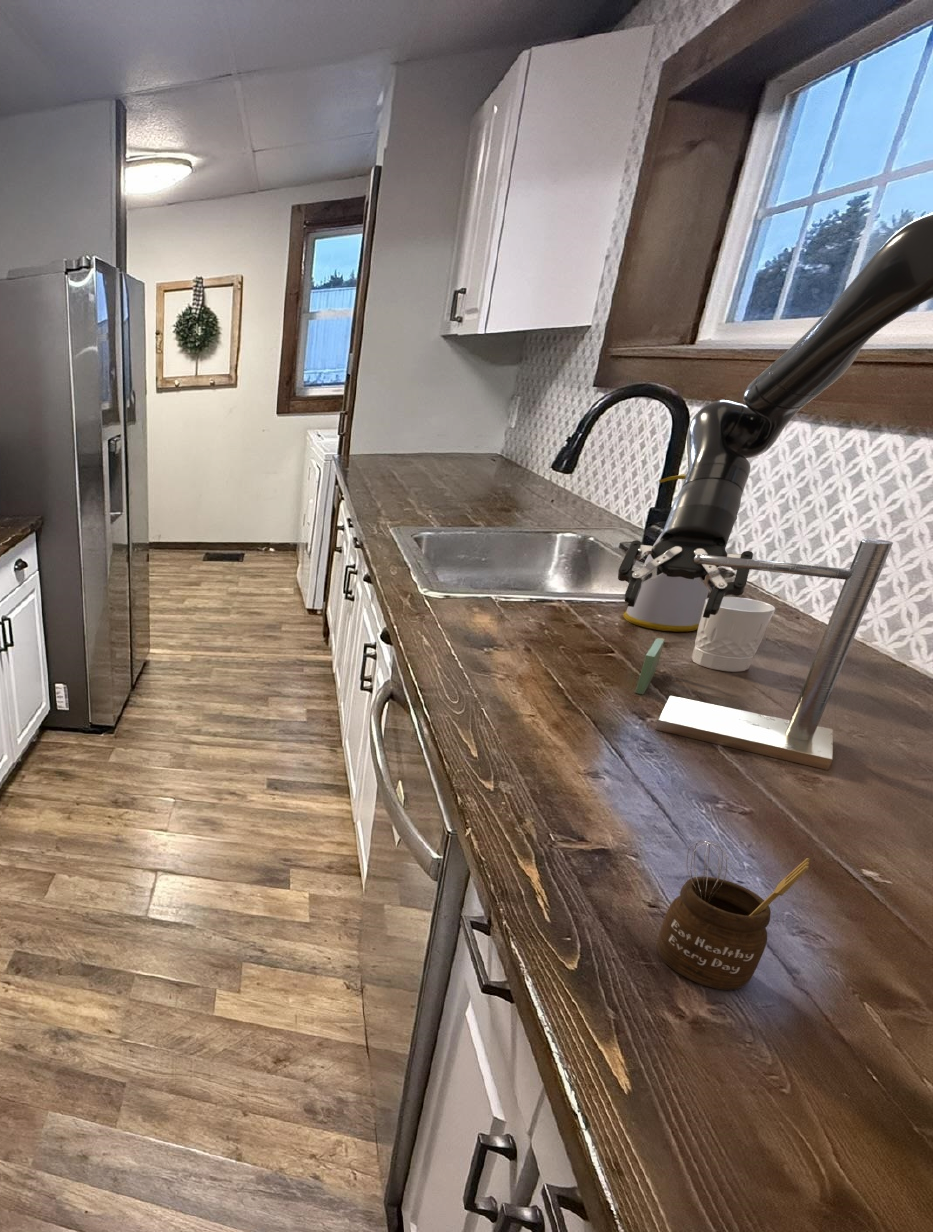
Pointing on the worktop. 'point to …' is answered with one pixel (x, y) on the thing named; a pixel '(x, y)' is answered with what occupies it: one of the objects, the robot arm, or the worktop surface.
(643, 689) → the green spatula stick
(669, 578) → the soap bottle
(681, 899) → the utensil holder
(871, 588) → the stand
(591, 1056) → the worktop surface
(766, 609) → the white cup
